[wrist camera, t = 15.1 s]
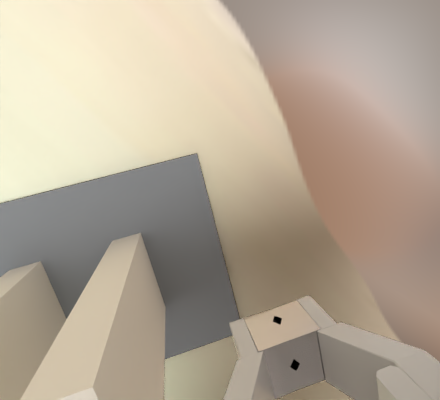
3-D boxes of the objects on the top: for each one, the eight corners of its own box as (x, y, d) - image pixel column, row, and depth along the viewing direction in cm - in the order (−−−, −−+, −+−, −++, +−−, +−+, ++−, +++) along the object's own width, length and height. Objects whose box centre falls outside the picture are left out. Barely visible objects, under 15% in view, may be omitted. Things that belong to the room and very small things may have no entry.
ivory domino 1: (140, 232, 15) (92, 387, 5) (165, 307, 16) (162, 540, 7) (111, 240, 15) (10, 416, 5) (139, 315, 16) (97, 569, 6)
